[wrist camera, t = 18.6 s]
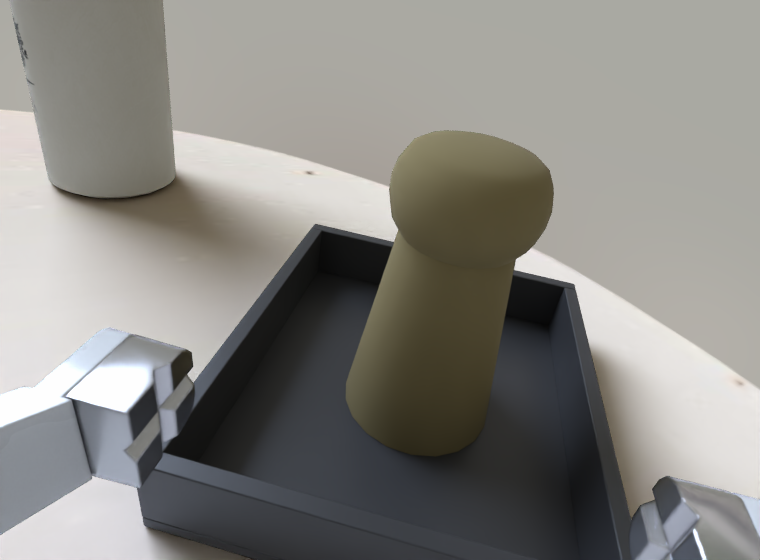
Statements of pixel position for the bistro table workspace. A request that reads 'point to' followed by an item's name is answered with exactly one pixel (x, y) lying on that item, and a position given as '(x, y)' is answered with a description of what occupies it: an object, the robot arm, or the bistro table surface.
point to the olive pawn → (446, 289)
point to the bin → (372, 458)
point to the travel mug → (99, 93)
